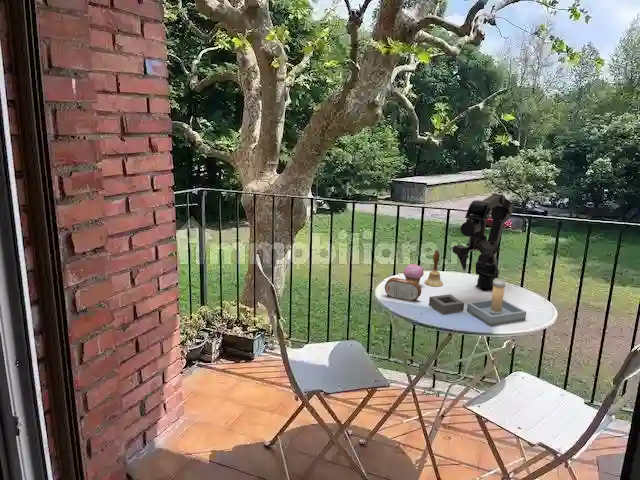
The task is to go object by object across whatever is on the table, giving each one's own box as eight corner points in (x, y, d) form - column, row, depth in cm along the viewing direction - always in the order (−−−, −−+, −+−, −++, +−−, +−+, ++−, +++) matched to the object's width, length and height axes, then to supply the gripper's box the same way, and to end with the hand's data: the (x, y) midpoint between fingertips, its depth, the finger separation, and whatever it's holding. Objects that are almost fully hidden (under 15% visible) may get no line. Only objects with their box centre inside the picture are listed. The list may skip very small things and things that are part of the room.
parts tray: (499, 306, 187) (500, 298, 186) (525, 320, 175) (526, 311, 174) (466, 311, 182) (467, 302, 181) (490, 326, 169) (491, 317, 168)
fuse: (491, 310, 181) (495, 278, 178) (503, 313, 178) (507, 281, 175) (487, 313, 178) (491, 281, 174) (499, 316, 175) (503, 284, 172)
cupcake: (405, 281, 214) (407, 260, 212) (424, 284, 211) (426, 263, 208) (400, 287, 206) (401, 266, 204) (419, 290, 203) (421, 269, 200)
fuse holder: (449, 302, 191) (450, 294, 190) (463, 311, 182) (464, 303, 181) (428, 304, 188) (429, 296, 187) (442, 314, 179) (443, 305, 178)
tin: (420, 300, 192) (422, 281, 190) (419, 303, 189) (420, 283, 187) (385, 294, 198) (386, 275, 196) (383, 297, 195) (384, 278, 193)
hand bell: (446, 283, 213) (449, 249, 209) (438, 288, 206) (441, 253, 202) (429, 279, 218) (432, 246, 214) (421, 284, 211) (423, 250, 207)
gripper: (470, 238, 178) (466, 277, 182) (510, 235, 184) (505, 272, 188) (453, 231, 188) (449, 268, 192) (491, 229, 194) (487, 264, 198)
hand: (473, 268), depth 192 cm, fingers open, 9 cm apart
